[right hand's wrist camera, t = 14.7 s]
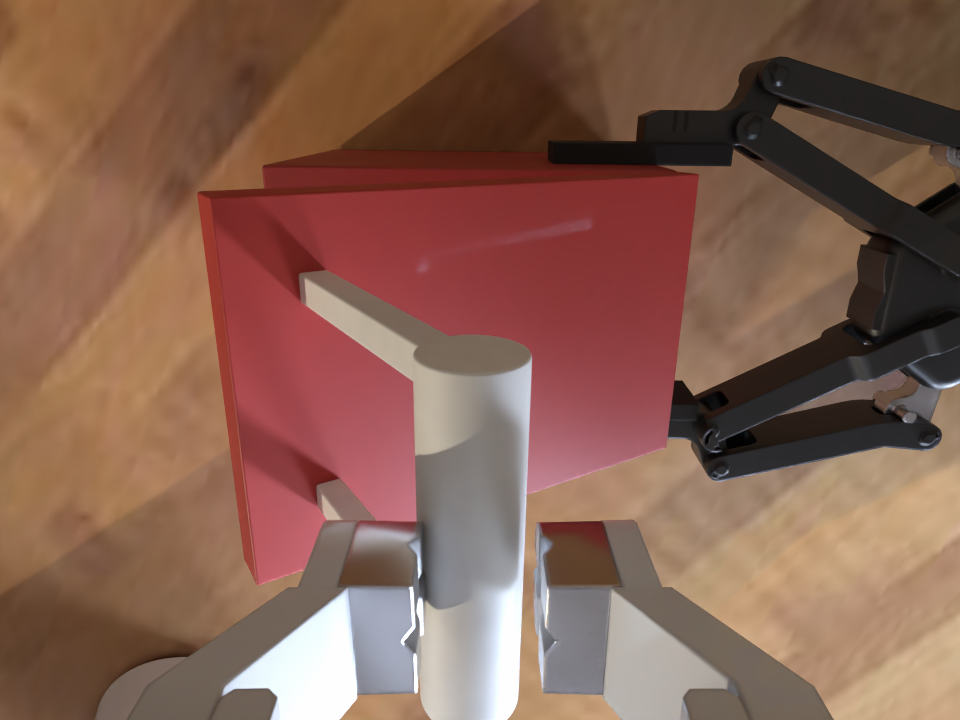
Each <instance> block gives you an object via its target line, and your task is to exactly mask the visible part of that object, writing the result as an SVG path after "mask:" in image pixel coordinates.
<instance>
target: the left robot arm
mask: <svg viewBox="0 0 960 720" xmlns="http://www.w3.org/2000/svg"><path fill="white" fill-rule="evenodd" d="M778 104H779V105H782V106H786V107H789V108H792V109H795V110H799V111H802V112H805V113H809V114H812V115H815V116H818V117H822V118H825V119H828V120H831V121H835V122H838V123H841V124H844V125H848V126H851V127H854V128H857V129H861V130H864V131H867V132H871V133H874V134H877V135H880V136H884V137H887V138H890V139H893V140H897V141H901V142H905V143H910V144H919V145H931V146H930V148H929V154H930V155H931V156H932V157H933V160H934V161H935V163H937V164H938V165H941V166H945V167H949V168H950V169H952V170H953V172H954V173H955V177H956V182H954V183H952V184H950V185H948V186H947V187H945V188H943V189H942V190H940V191H939V192H937V193H935V194H934V195H932V196H931V197H929V198H927V199H926V200H924V201H922V202H921V203H919V204H918V205H916V206H914V207H913V206H912V205H910V204H908V203H905V202H903V201H900V200H898V199H896V198H894V197H893V196H891V195H890V194H888V193H887V192H885V191H883V190H882V189H880V188H879V187H877V186H876V185H874V184H873V183H871V182H869V181H868V180H866V179H865V178H863V177H862V176H860V175H858V174H857V173H855V172H854V171H852V170H851V169H849V168H848V167H846V166H844V165H843V164H841V163H840V162H838V161H837V160H835V159H834V158H832V157H830V156H829V155H827V154H826V153H824V152H823V151H821V150H820V149H818V148H816V147H815V146H813V145H812V144H810V143H809V142H807V141H805V140H804V139H802V138H801V137H799V136H798V135H796V134H795V133H793V132H791V131H790V130H788V129H787V128H785V127H784V126H782V125H781V124H779V123H777V122H776V121H774V120H773V119H771V117H772V115H773V113H774V111H775V109H776V107H777V105H778ZM733 149H734V150H735V151H737V152H739V153H740V154H742V155H743V156H745V157H747V158H748V159H750V160H751V161H753V162H755V163H756V164H758V165H759V166H761V167H763V168H764V169H766V170H767V171H769V172H771V173H772V174H774V175H775V176H777V177H779V178H780V179H782V180H783V181H785V182H787V183H788V184H790V185H791V186H793V187H795V188H796V189H798V190H799V191H801V192H803V193H804V194H806V195H807V196H809V197H811V198H812V199H814V200H815V201H817V202H819V203H820V204H822V205H823V206H825V207H826V208H828V209H830V210H831V211H833V212H834V213H836V214H838V215H839V216H841V217H842V218H844V220H845V221H846V222H847V223H849V224H850V225H852V226H854V227H855V228H857V229H858V230H860V231H862V232H863V233H865V234H866V235H868V236H870V237H871V238H870V240H869V242H868V244H867V245H861V246H860V251H859V256H858V261H857V268H858V283H857V285H856V287H855V289H854V291H853V294H852V296H851V298H850V300H849V305H848V310H847V315H846V316H847V317H848V318H850V319H848V320H845V321H843V322H841V323H839V324H837V325H835V326H832V327H830V328H828V329H826V330H825V331H824V332H823V333H822V335H821V337H820V338H819V339H817V340H815V341H813V342H810V343H808V344H806V345H804V346H802V347H799V348H797V349H795V350H793V351H791V352H789V353H786V354H784V355H782V356H780V357H778V358H776V359H773V360H771V361H769V362H767V363H765V364H762V365H760V366H758V367H756V368H754V369H752V370H749V371H747V372H745V373H743V374H741V375H739V376H736V377H734V378H732V379H730V380H728V381H725V382H723V383H721V384H719V385H717V386H715V387H712V388H710V389H708V390H706V391H704V392H701V393H699V394H697V395H695V396H693V395H692V393H691V392H690V391H689V389H688V388H687V387H686V385H685V384H684V382H683V381H674V387H673V396H672V404H671V412H670V421H669V429H668V437H667V438H672V439H688V440H691V442H692V443H691V447H692V450H693V452H694V453H695V455H696V456H697V458H698V460H699V461H700V463H701V465H702V466H703V468H704V470H705V471H706V473H707V475H708V476H709V477H710V478H711V479H712V480H715V481H725V480H730V479H734V478H739V477H744V476H749V475H753V474H758V473H763V472H768V471H772V470H777V469H782V468H787V467H791V466H796V465H801V464H806V463H810V462H815V461H820V460H825V459H829V458H834V457H839V456H844V455H848V454H853V453H858V452H863V451H867V450H872V449H877V448H882V447H890V448H901V449H911V450H921V451H924V450H930V449H932V448H934V447H935V446H937V445H938V444H939V442H940V441H941V437H942V433H941V430H940V429H939V428H938V427H937V426H935V425H934V424H932V423H931V422H930V421H931V418H932V416H933V413H934V410H935V407H936V404H937V402H938V399H939V396H940V393H941V391H942V389H947V388H950V387H953V386H955V385H957V384H960V110H954V109H951V108H948V107H944V106H941V105H938V104H935V103H932V102H928V101H925V100H922V99H919V98H916V97H912V96H909V95H906V94H903V93H900V92H896V91H893V90H890V89H887V88H884V87H880V86H877V85H874V84H871V83H868V82H864V81H861V80H858V79H855V78H852V77H848V76H845V75H842V74H839V73H836V72H832V71H829V70H826V69H823V68H820V67H816V66H813V65H810V64H807V63H804V62H800V61H797V60H794V59H791V58H788V57H776V58H771V59H767V60H762V61H757V62H753V63H750V64H748V65H747V66H746V67H744V68H743V70H742V71H741V73H740V76H739V86H738V88H737V90H736V92H735V94H734V97H733V98H732V100H731V102H730V103H729V104H728V105H727V106H725V107H724V108H722V109H720V110H717V111H694V110H653V111H649V112H647V113H644V114H642V115H639V116H638V124H637V136H636V141H550V140H548V160H549V161H550V162H552V163H553V164H601V165H669V166H731V162H732V154H733ZM866 344H868V345H866ZM896 370H900V371H901V372H902V373H904V374H905V375H906V376H908V378H907V380H906V382H905V383H904V384H903V385H902V386H901V387H899V388H898V389H895V390H889V391H885V392H884V391H877V392H876V393H874V395H873V400H851V401H845V402H840V403H835V404H831V405H826V406H821V407H817V408H812V409H808V410H803V411H799V412H794V413H789V414H785V415H780V414H783V413H785V412H787V411H789V410H792V409H794V408H796V407H798V406H801V405H803V404H805V403H807V402H810V401H812V400H814V399H816V398H819V397H821V396H823V395H825V394H828V393H830V392H832V391H834V390H837V389H839V388H841V387H843V386H846V385H848V384H850V383H852V382H855V381H871V380H875V379H878V378H880V377H883V376H885V375H887V374H889V373H892V372H894V371H896ZM778 415H780V416H778Z"/></svg>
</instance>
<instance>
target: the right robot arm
mask: <svg viewBox="0 0 960 720" xmlns="http://www.w3.org/2000/svg"><path fill="white" fill-rule="evenodd" d="M424 551H425V544H424V524H423V522H421V521H372V520H360V521H357V520H327V521H326V522H324V523H323V524H322V526H321V529H320V531H319V534H318V537H317V539H316V542H315V544H314V547H313V549H312V552H311V555H310V557H309V560H308V562H307V565H306V568H305V570H304V573H303V575H302V578H301V580H300V583H299V586H298V587H288V588H287V589H285V590H284V591H282V592H281V593H280V594H278V595H277V596H275V597H274V598H272V599H271V600H269V601H268V602H266V603H265V604H264V605H262V606H261V607H259V608H258V609H256V610H255V611H253V612H252V613H251V614H249V615H248V616H246V617H245V618H243V619H242V620H240V621H239V622H238V623H236V624H235V625H233V626H232V627H230V628H229V629H227V630H226V631H225V632H223V633H222V634H220V635H219V636H217V637H216V638H214V639H213V640H212V641H210V642H209V643H207V644H206V645H204V646H203V647H201V648H200V649H199V650H197V651H196V652H194V653H193V654H191V655H190V656H188V657H173V658H165V659H160V660H155V661H151V662H148V663H145V664H142V665H140V666H137V667H135V668H133V669H131V670H129V671H128V672H126V673H125V674H123V675H122V676H120V677H119V678H118V679H117V680H115V681H114V682H113V684H112V685H111V686H110V687H109V688H108V689H107V691H106V692H105V694H104V695H103V697H102V699H101V701H100V704H99V707H98V710H97V714H96V717H95V720H339V719H340V718H341V717H342V716H343V714H344V713H345V712H346V711H347V710H348V708H349V707H350V706H351V705H352V704H353V702H354V701H355V700H356V699H357V695H369V694H403V693H417V690H418V681H419V673H420V664H421V636H422V635H423V634H424V627H425V614H426V574H425V572H424V570H423V560H424ZM535 552H536V560H537V567H536V568H535V569H534V616H535V627H536V634H537V635H538V636H539V665H540V673H541V681H542V690H543V693H555V694H591V695H603V698H604V700H605V701H606V702H607V703H608V704H609V706H610V707H611V708H612V709H613V710H614V712H615V713H616V714H617V715H618V716H619V717H620V719H621V720H834V719H833V718H832V716H831V714H830V713H829V711H828V709H827V707H826V706H825V704H824V702H823V701H822V699H821V697H820V695H819V694H818V692H817V690H816V689H815V687H814V686H813V685H811V684H810V683H809V682H807V681H806V680H804V679H803V678H801V677H800V676H798V675H797V674H796V673H794V672H793V671H791V670H790V669H788V668H787V667H786V666H784V665H783V664H781V663H780V662H778V661H777V660H775V659H774V658H773V657H771V656H770V655H768V654H767V653H765V652H764V651H762V650H761V649H760V648H758V647H757V646H755V645H754V644H752V643H751V642H750V641H748V640H747V639H745V638H744V637H742V636H741V635H739V634H738V633H737V632H735V631H734V630H732V629H731V628H729V627H728V626H726V625H725V624H724V623H722V622H721V621H719V620H718V619H716V618H715V617H714V616H712V615H711V614H709V613H708V612H706V611H705V610H703V609H702V608H701V607H699V606H698V605H696V604H695V603H693V602H692V601H690V600H689V599H688V598H686V597H685V596H683V595H682V594H680V593H679V592H678V591H676V590H675V589H673V588H672V587H662V586H661V583H660V581H659V578H658V576H657V573H656V571H655V568H654V565H653V563H652V560H651V558H650V555H649V553H648V550H647V548H646V545H645V542H644V540H643V537H642V535H641V532H640V530H639V527H638V525H637V523H636V522H635V521H634V520H608V521H586V522H538V523H536V531H535Z"/></svg>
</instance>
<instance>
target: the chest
mask: <svg viewBox="0 0 960 720" xmlns="http://www.w3.org/2000/svg"><path fill="white" fill-rule="evenodd" d="M262 169H263V180H264V189H268V188H292V187H315V186H338V185H361V184H384V183H408V182H431V181H454V180H477V179H500V178H524V177H547V176H570V175H593V174H616V173H640V172H663V171H672V172H677V171H674V170H671V169H667V168H664V167H660V166H657V165H601V164H553V163H552V162H550V161H549V160H548V152H478V151H402V150H331V151H327V152H323V153H318V154H313V155H309V156H304V157H300V158H295V159H291V160H286V161H281V162H277V163H272V164H268V165H264V166H263V168H262Z"/></svg>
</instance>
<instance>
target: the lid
mask: <svg viewBox="0 0 960 720" xmlns="http://www.w3.org/2000/svg"><path fill="white" fill-rule="evenodd" d="M698 179H699V175H698V174H693V173H682V172H672V171H663V172H640V173H616V174H593V175H570V176H547V177H524V178H500V179H477V180H454V181H431V182H408V183H384V184H361V185H338V186H315V187H292V188H268V189H245V190H222V191H200V192H198V194H197V195H198V202H199V210H200V218H201V226H202V233H203V241H204V249H205V257H206V264H207V272H208V280H209V288H210V296H211V303H212V311H213V319H214V327H215V334H216V342H217V350H218V358H219V365H220V373H221V381H222V389H223V396H224V404H225V412H226V420H227V427H228V435H229V443H230V451H231V459H232V466H233V474H234V482H235V490H236V497H237V505H238V513H239V521H240V528H241V536H242V544H243V552H244V559H245V561H246V563H247V565H248V567H249V570H250V572H251V574H252V576H253V578H254V580H255V582H256V584H257V585H260V584H263V583H266V582H269V581H272V580H275V579H278V578H281V577H284V576H287V575H290V574H293V573H296V572H299V571H302V570H305V568H306V565H307V562H308V560H309V557H310V555H311V552H312V549H313V547H314V544H315V542H316V539H317V537H318V534H319V531H320V529H321V526H322V524H323V523H324V522H326V521H327V520H357V521H360V520H372V521H421V522H423V524H424V544H425V551H424V560H423V570H424V572H425V574H426V614H425V627H424V634H423V635H422V636H421V664H420V690H421V702H422V705H423V708H424V709H425V711H426V713H427V714H428V716H429V717H430V718H431V719H432V720H507V719H508V718H509V716H510V715H511V714H512V712H513V711H514V709H515V707H516V704H517V701H518V688H519V664H520V640H521V615H522V591H523V567H524V543H525V518H526V495H527V494H530V493H533V492H536V491H539V490H542V489H545V488H548V487H551V486H554V485H557V484H560V483H563V482H566V481H569V480H572V479H575V478H578V477H580V476H583V475H586V474H589V473H592V472H595V471H598V470H601V469H604V468H607V467H610V466H613V465H616V464H619V463H622V462H625V461H628V460H631V459H634V458H637V457H640V456H643V455H646V454H649V453H652V452H655V451H658V450H660V449H663V448H666V446H667V437H668V429H669V421H670V412H671V404H672V396H673V387H674V379H675V371H676V362H677V354H678V346H679V337H680V329H681V321H682V312H683V304H684V295H685V287H686V279H687V270H688V262H689V254H690V245H691V237H692V229H693V220H694V212H695V204H696V195H697V187H698Z"/></svg>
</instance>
